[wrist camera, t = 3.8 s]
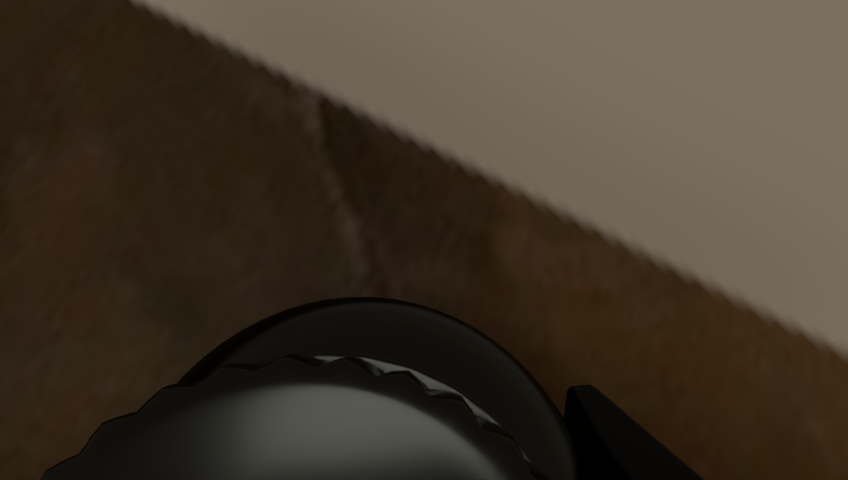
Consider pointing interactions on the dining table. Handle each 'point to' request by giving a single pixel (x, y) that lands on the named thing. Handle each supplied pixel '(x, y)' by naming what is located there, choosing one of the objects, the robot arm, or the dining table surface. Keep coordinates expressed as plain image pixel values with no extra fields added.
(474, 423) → the supplement bottle
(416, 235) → the dining table surface
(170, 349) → the dining table surface
